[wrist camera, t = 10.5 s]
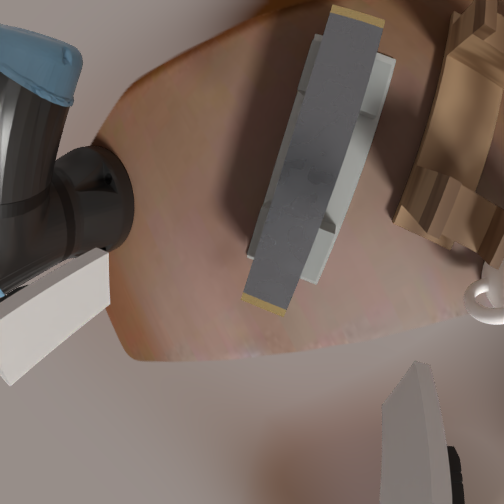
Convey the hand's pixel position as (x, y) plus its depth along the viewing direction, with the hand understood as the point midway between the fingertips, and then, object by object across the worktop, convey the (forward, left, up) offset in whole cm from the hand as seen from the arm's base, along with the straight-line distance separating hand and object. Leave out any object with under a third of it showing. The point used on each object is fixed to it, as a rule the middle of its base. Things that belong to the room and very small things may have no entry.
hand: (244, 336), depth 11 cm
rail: (-1, +5, -17) cm, 18 cm away
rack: (+11, +14, -20) cm, 27 cm away
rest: (-1, +5, -20) cm, 21 cm away
